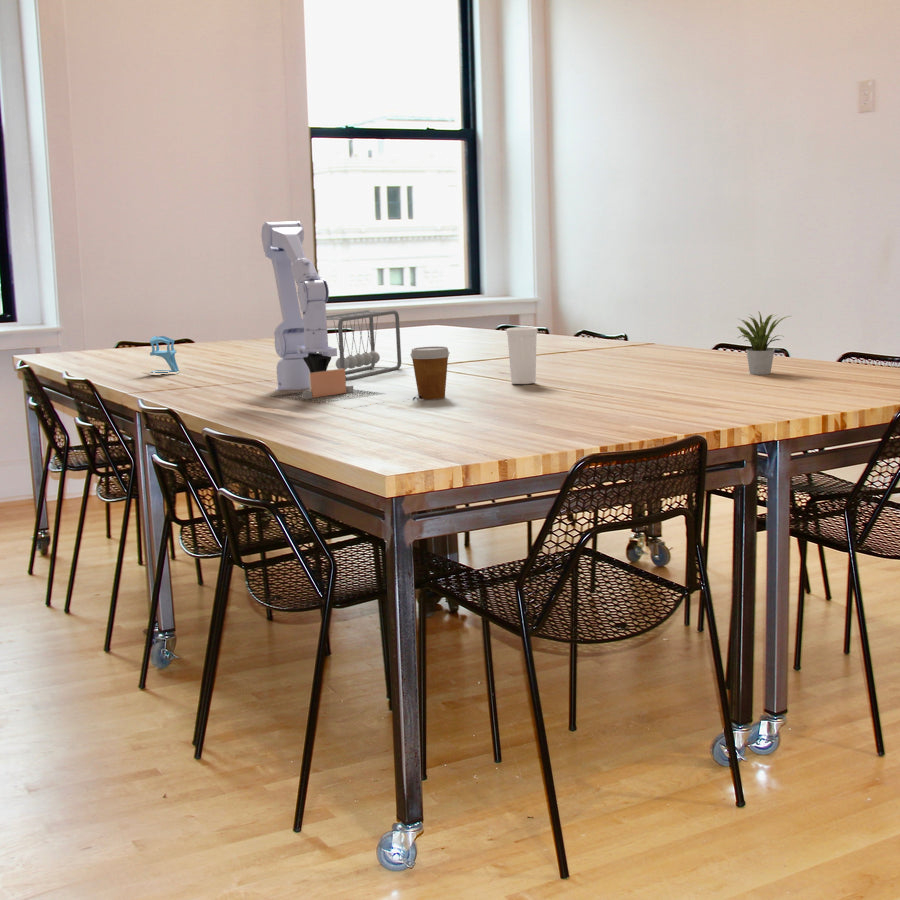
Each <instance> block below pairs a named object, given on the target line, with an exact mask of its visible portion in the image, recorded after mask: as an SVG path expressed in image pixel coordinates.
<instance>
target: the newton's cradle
mask: <svg viewBox="0 0 900 900" xmlns="http://www.w3.org/2000/svg"><path fill="white" fill-rule="evenodd" d="M387 315H388V316H389V315H394V320H395V335H396V336H395V337H396V357H397V362H396V363H397V364H396V365H395V366H392V367H391V366H386V367H385V366H376V364H378V362H379V361H380V358H381V357H380V354H379V353H378V352H377V351H375V350H376V343H375V340H376V338H377V333H375V332H374V331H375V330H378V329H377V328H378V323H376V326H375V327H374V317H377V318H376V321H378V320H379V319H378V318H379V317H381V316H387ZM326 319H327V321H337V320H338V322H337V327H334V330H335V335H336V340H337V344H338V350H339V358H337V359H336V361H335V367H336V368H337V369H342V368H343V369H345V379H346V382H348V381H349V380H350V381H354V380H357V379H362V378H367V377H371V376H376V375H380V374H385V373H389V372H394V371H398V370H399V369H400V368H401V366H402V349H401V331H400V316H399V313H398V311H397V310H396V309H395V310H394V309H391V310H385V311H384V310H382V311H380V310H379V311H370V310H368V309H367V310H361V311H360V310H359V311H351V312H345V313H344V312H343V313H338V314H337V313H335V314H329V315H326ZM366 319H369V323H368V324H369V325H368V326H367V320H366ZM352 320H353V322H354V324H353V327H352V323H351V321H352ZM359 320H361V324H363V321H364V320H365V326H366V327H368V328H366V329H367V338H368V341H366V342H367V343H366V348H368V345H370V352H368V350H366V349H365V346H364V342H363V336H362V333H363V327H361V328H360V323H359ZM348 321H349V323H350V327H351V328H350V329H351V333H352V339H353V341H352V344H351V349H354V348H353V347H354V346H353V345H355V350H356V351H355V352H356V354H355V355H353V352H350V350H349V345H348V340H347V337H346V336H347V332H346V330H347V326H348V323H346V326H344V322H348ZM356 321H357V323H358V328H359V330H360V331H359V333H360V339H359V340H360V341H359V344H362V348H363V353H362V354H361V353H360V352H361V347H358V348H359V350H358V351H357V345H356V341H355V337H354V336H355V335H354V334H355V331H354V330H353V329H355V325H356ZM333 324H334V326H336V323H335V322H333ZM336 328H338V329H336ZM337 330H338V331H337ZM337 332H338V334H337ZM343 332H344V333H343ZM344 339H345V340H344ZM369 341H370V342H369ZM345 344H346V345H345ZM345 346H346V347H347V353H348V355H347V356H346V357H345V354H344V352H345ZM365 350H366V351H365ZM315 353H318V352H315ZM356 367H357V368H356ZM347 369H348V370H347ZM369 369H370V370H372V369H377V370H374V371H369ZM364 371H369V372H364ZM355 372H356V373H359V374H356V373H355ZM360 372H364V373H360ZM350 373H351V374H354V375H351V374H350ZM355 374H356V375H355ZM346 375H351V376H346ZM350 381H349V382H350Z"/></svg>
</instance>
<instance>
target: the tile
mask: <svg viewBox="0 0 900 900" xmlns="http://www.w3.org/2000/svg"><path fill="white" fill-rule="evenodd" d="M345 371H346V370H345V369H343V368H342V369H338V368H337V369H336V368H334V369H329V370H328V369H327V370H326V371H319V372H312V373H309V383H310V388H309V391H310V392H312V398H314V399H315V398H320V397H321V398H322V397H323V396H324V397H329V396H334V395H335V394H338V395H339V394H340V395H342V394H341V393H346V386H347V381H346V379H345V376H346V375H345ZM346 394H347V393H346ZM312 398H311V399H312Z"/></svg>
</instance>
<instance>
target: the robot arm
mask: <svg viewBox="0 0 900 900" xmlns="http://www.w3.org/2000/svg"><path fill="white" fill-rule="evenodd" d="M260 235H261V236H260V237H261V242H262V247H263V253H264V255H265V257H266V258H268V259H269V260H271V265H272V269H273V274H274V278H275V284H276V289H277V296H278V301H279V305H280V306H279V307H280V312H281V318H282V321H281V322H280V323H279V324H278V325H277V326H276V328H275V330H274V333H273V335H274V348H275V352H276V354H277V355H278V357H280V359H279V360H278V362H277V364H276V375H277V376H276V377H277V379H276V380H277V388H275V389H274V391H275V392H276V391H284V390H290V391H291V390H305V389H310V383H309V373H312V372H319V371H327V370H328V366H329V364H330V362H331V360H332V357H338V348H336V347H331V346H329V338H328V337H329V336H328V335H329V334H328V325H327V324H328V323H327V322H328V320H327V319H326V316H327V308H326V307H327V306H326V305H327V304H326V303H328V302H329V301H328V300H329V296H330V295H329V286H328V282H327V280H326V279H325V278H323V277H320V276H319V274H318V271H317V270H316V268H315V265H314V263H313V261H312V260H311V259H309V258H307V257H306V253H305V251H304V248H303V243H304V242H303V241H304V238H305V231H304V227H303V224H302V222H300V221H299V220H295V221H270V222H269V221H264V223H263V224H262V227H261V234H260ZM296 286H297V287H296ZM301 312H302V314H301ZM315 352H317V353H315Z"/></svg>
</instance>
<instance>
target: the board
mask: <svg viewBox="0 0 900 900" xmlns="http://www.w3.org/2000/svg"><path fill="white" fill-rule="evenodd" d="M354 394H355V395H354ZM370 394H371V396H378V395H386V393H384V392H377V391H369V390H368V391H367V390H361V389H354V385H351V384H349V385H346V393H341V394H334V395H332V397H327V396H321V397H314V398H312V392H310V390H307V391H305V390H304V391H301V392H300V391H298V392H294V393H293V392H291V393H285V394H279V395H278V394H276V395H272V396H270V397H272V398H275V399H284V400H285V399H286V400H294V401H297V402H298V401H300V402H306V403H307V402H308V403H312V402H313V400H315V402H318V404H321V402H325V399H327V400H329V402H330V403H332V402H338V401H339V402H341V401H346V400H353V399H354V398H355V399H358V398H361V396H362V395H363V398H365V397H367V398H368V396H370Z"/></svg>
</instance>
